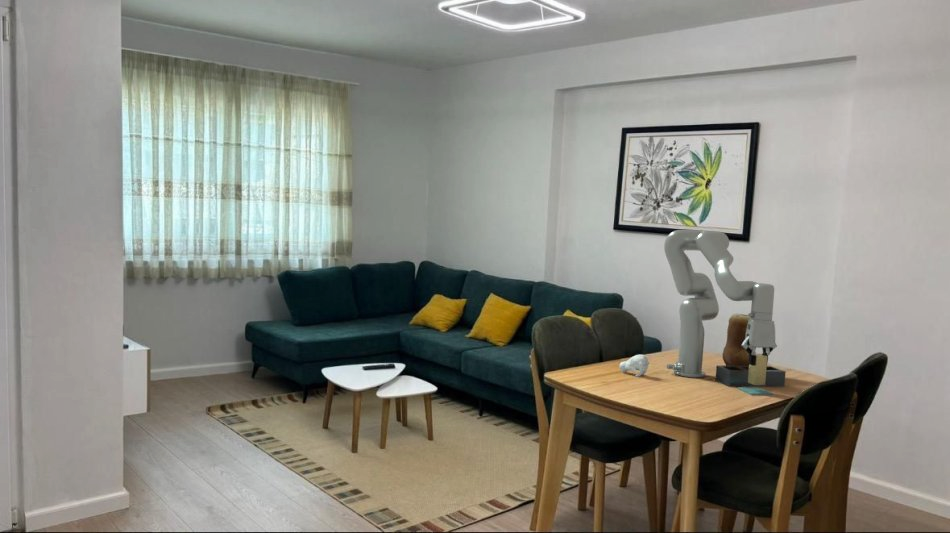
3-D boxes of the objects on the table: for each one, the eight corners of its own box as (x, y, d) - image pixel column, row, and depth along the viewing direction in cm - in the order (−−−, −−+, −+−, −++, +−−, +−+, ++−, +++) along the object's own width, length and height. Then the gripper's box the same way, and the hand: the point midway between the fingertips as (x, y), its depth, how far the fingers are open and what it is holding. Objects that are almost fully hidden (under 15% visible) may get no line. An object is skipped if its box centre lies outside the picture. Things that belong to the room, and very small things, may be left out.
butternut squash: (762, 376, 301) (767, 316, 299) (736, 377, 296) (741, 316, 294) (738, 368, 313) (743, 311, 311) (713, 369, 308) (718, 311, 306)
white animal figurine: (643, 356, 285) (615, 354, 292) (643, 377, 285) (616, 375, 292) (650, 354, 290) (623, 352, 297) (650, 375, 290) (623, 372, 297)
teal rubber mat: (751, 395, 266) (751, 393, 266) (737, 388, 275) (737, 387, 275) (773, 394, 268) (773, 393, 268) (758, 388, 277) (758, 387, 277)
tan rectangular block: (754, 385, 269) (756, 355, 268) (747, 382, 273) (749, 353, 272) (765, 385, 270) (767, 356, 269) (758, 382, 274) (760, 353, 273)
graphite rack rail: (729, 386, 278) (730, 371, 278) (715, 380, 288) (716, 365, 288) (784, 386, 283) (785, 371, 283) (769, 380, 293) (770, 365, 293)
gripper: (746, 317, 264) (743, 367, 265) (787, 318, 268) (783, 367, 269) (735, 314, 271) (731, 362, 273) (775, 315, 275) (771, 362, 276)
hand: (757, 364), depth 271 cm, fingers closed on tan rectangular block, 4 cm apart
